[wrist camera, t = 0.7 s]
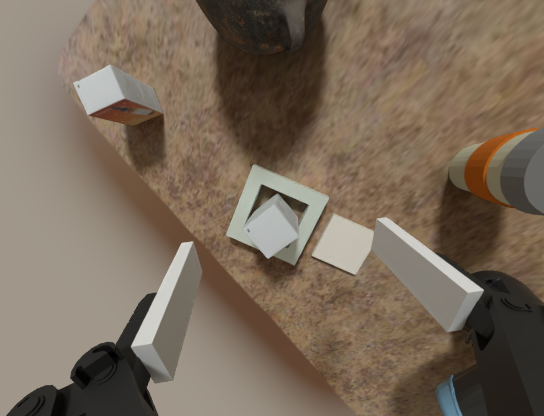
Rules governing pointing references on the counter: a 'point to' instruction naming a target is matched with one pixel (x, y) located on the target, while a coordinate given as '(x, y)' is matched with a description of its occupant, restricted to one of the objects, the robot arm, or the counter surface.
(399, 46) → the counter surface
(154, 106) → the small box
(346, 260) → the tile
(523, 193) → the reusable coffee cup
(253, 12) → the jug
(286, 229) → the supplement box
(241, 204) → the holder
